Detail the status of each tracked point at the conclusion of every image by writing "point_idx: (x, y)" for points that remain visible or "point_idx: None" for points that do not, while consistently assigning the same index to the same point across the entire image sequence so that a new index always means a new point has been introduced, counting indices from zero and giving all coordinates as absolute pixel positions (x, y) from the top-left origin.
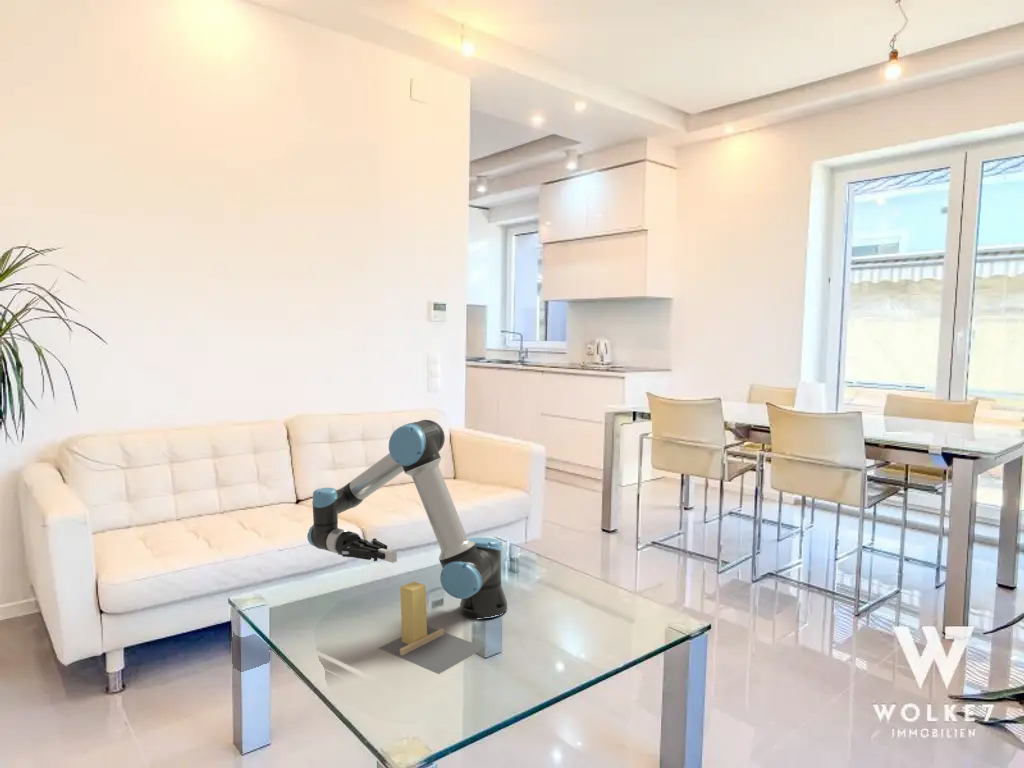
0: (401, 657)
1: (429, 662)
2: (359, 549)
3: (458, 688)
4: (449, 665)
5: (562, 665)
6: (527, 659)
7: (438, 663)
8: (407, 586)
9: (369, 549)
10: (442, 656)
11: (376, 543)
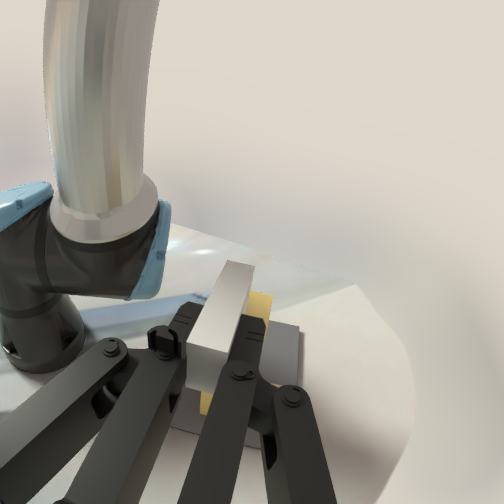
0: None
1: (281, 348)
2: (306, 501)
3: (302, 307)
4: (272, 324)
5: (201, 250)
6: (201, 271)
7: (276, 337)
8: (255, 313)
9: (247, 423)
10: None
11: (29, 448)
